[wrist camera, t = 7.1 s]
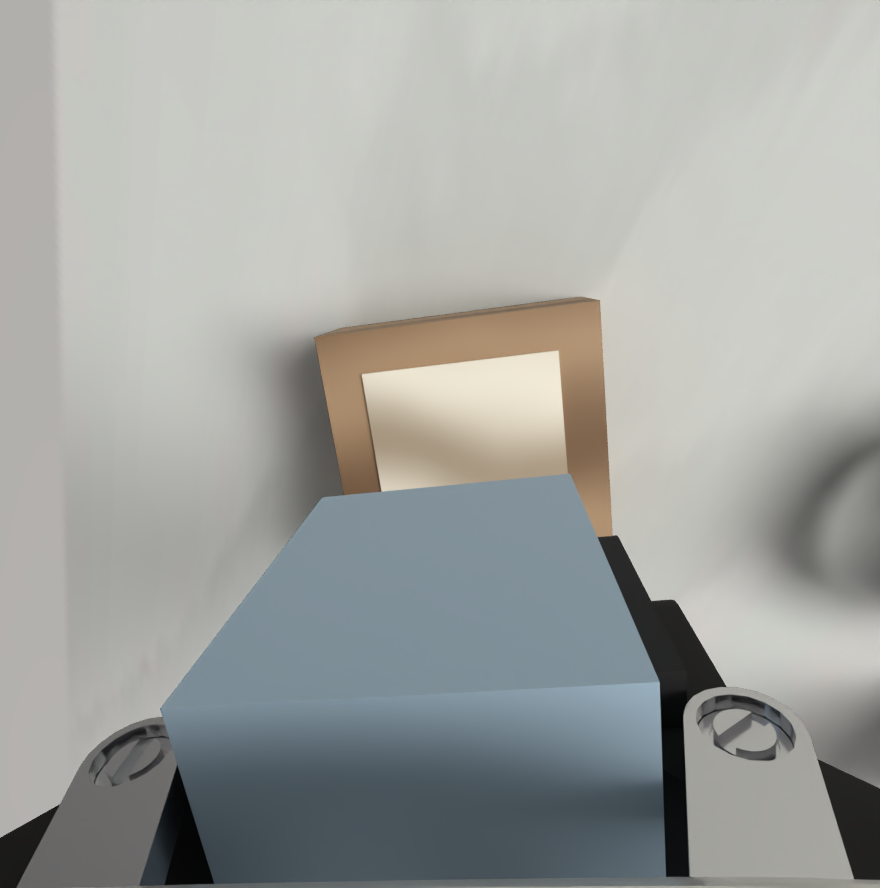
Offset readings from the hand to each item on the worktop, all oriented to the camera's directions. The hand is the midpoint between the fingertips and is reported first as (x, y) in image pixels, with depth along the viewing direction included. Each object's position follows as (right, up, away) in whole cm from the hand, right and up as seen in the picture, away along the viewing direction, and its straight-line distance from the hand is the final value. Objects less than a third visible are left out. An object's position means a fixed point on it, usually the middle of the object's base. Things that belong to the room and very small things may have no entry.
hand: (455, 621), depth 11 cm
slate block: (0, 0, +1) cm, 1 cm away
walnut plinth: (+1, +4, +14) cm, 15 cm away
